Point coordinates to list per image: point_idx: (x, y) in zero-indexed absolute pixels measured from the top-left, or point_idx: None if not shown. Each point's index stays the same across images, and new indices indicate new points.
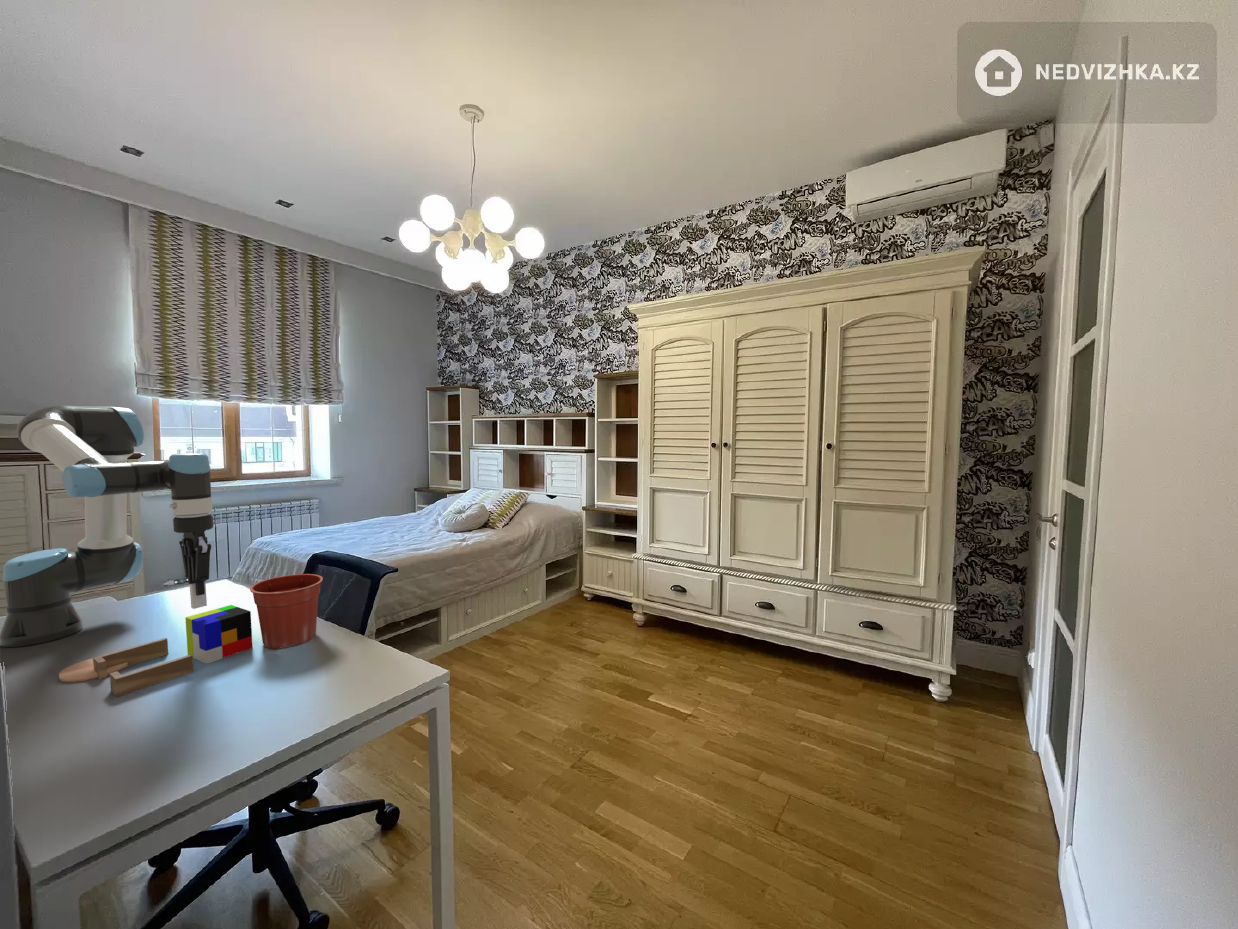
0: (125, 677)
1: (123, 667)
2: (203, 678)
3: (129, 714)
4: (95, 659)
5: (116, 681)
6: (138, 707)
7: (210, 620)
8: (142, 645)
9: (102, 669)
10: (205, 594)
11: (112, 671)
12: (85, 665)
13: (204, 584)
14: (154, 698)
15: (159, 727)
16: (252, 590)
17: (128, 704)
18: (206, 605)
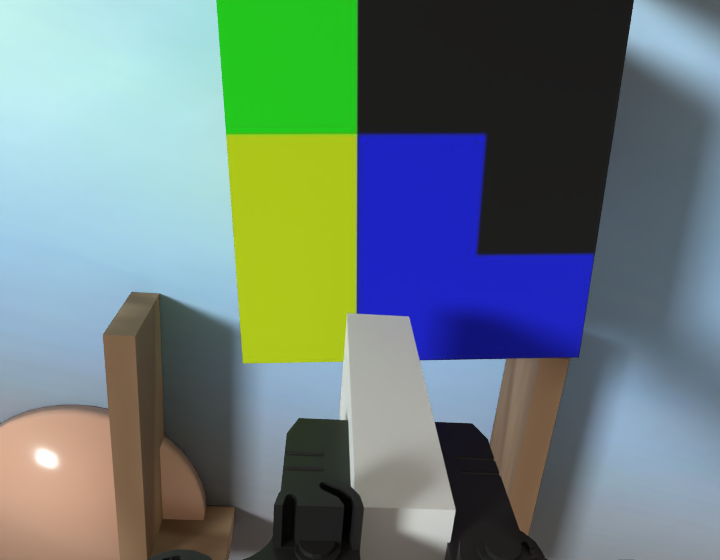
0: None
1: (182, 455)
2: (659, 319)
3: (686, 545)
4: None
5: None
6: (662, 519)
7: (522, 297)
8: (135, 436)
9: (228, 548)
10: (424, 389)
11: (202, 492)
12: (39, 541)
13: (440, 479)
14: (645, 474)
15: None
16: None
17: (600, 529)
18: (406, 320)
